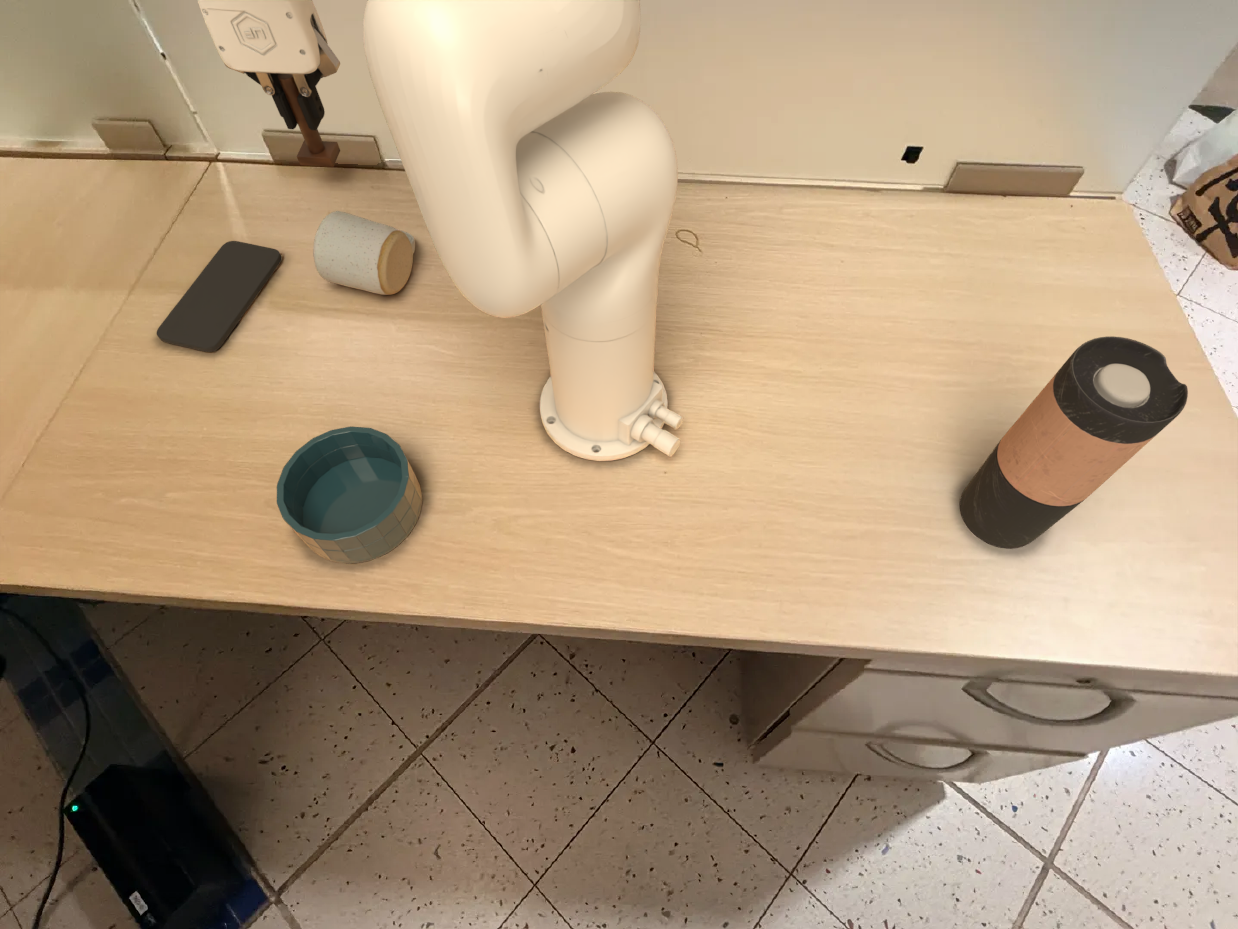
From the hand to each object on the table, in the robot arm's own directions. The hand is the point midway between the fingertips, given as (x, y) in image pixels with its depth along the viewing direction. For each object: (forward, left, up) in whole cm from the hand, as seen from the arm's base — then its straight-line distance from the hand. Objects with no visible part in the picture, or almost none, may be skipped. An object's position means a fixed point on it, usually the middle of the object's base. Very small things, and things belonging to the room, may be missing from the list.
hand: (306, 121), depth 82 cm
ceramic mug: (-15, +7, -9) cm, 19 cm away
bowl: (-36, +29, -9) cm, 47 cm away
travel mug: (-83, -5, -9) cm, 84 cm away
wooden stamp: (0, 0, -5) cm, 5 cm away
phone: (-4, +20, -9) cm, 22 cm away
